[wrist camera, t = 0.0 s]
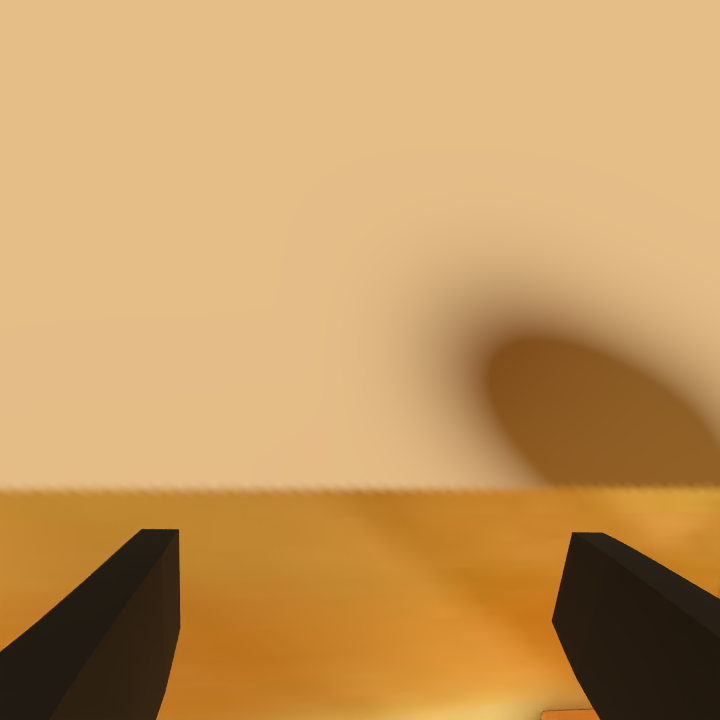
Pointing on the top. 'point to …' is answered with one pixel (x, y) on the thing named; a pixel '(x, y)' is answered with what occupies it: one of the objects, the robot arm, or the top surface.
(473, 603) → the top surface
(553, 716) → the square peg
